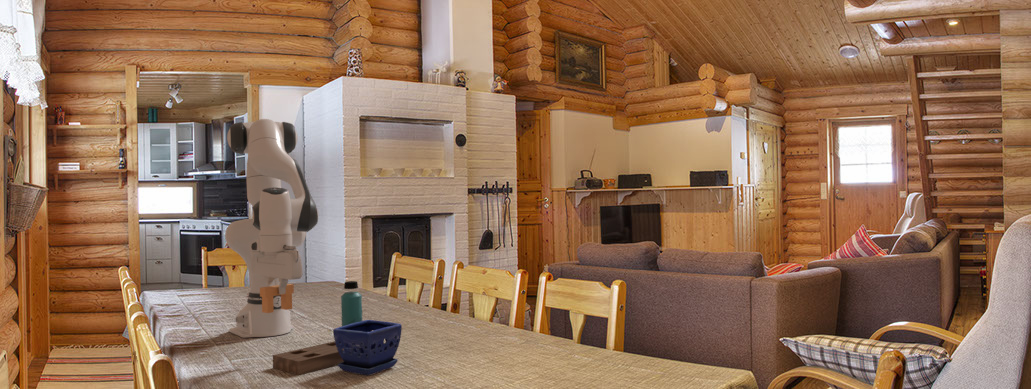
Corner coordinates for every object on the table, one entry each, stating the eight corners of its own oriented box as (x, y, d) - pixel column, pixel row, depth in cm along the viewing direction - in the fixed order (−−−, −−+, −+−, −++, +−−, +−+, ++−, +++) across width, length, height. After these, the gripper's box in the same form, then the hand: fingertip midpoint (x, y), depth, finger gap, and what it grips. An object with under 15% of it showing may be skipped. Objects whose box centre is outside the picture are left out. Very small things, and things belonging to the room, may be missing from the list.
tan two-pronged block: (265, 313, 189) (265, 288, 189) (260, 312, 191) (259, 287, 191) (294, 308, 196) (293, 284, 196) (288, 307, 198) (287, 283, 198)
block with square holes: (273, 368, 185) (272, 355, 185) (345, 350, 204) (345, 339, 204) (298, 374, 177) (298, 361, 177) (371, 356, 196) (371, 344, 196)
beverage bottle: (358, 349, 206) (356, 282, 205) (337, 348, 207) (336, 282, 207) (366, 344, 212) (365, 280, 212) (347, 343, 213) (345, 279, 213)
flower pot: (369, 379, 172) (368, 332, 172) (332, 372, 179) (331, 327, 179) (404, 367, 184) (403, 323, 184) (368, 361, 191) (367, 318, 191)
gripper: (307, 245, 190) (308, 294, 190) (266, 242, 202) (267, 289, 202) (287, 247, 185) (288, 298, 185) (246, 244, 197) (247, 291, 197)
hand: (277, 293), depth 194 cm, fingers closed on tan two-pronged block, 3 cm apart
